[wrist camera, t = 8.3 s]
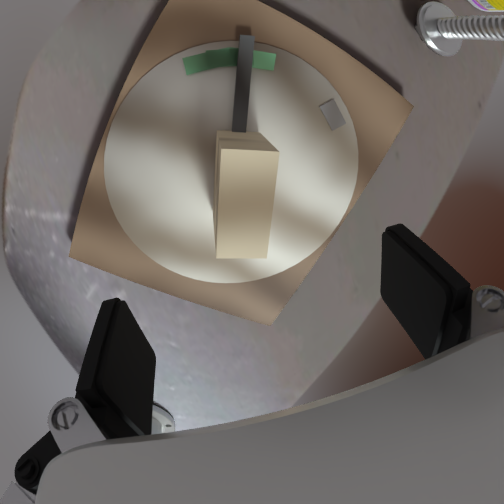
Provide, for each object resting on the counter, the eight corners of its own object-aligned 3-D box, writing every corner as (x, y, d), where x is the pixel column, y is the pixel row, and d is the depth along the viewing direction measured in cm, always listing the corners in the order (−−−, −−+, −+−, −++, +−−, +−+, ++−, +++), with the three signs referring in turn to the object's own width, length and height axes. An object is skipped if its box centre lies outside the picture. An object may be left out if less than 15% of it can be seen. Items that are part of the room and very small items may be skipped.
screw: (396, 32, 18) (414, -7, 16) (436, 66, 20) (452, 28, 18) (526, 30, 7) (536, -22, 5) (561, 89, 9) (571, 36, 7)
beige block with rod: (251, 214, 23) (266, 258, 18) (212, 214, 22) (216, 258, 17) (268, 38, 17) (293, 23, 11) (224, 34, 16) (232, 16, 11)
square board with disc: (267, 315, 30) (270, 327, 29) (74, 247, 24) (67, 257, 22) (403, 104, 21) (415, 106, 20) (189, -22, 15) (187, -29, 13)
